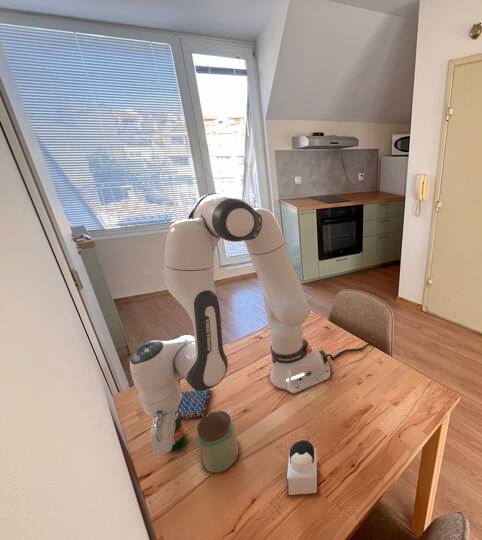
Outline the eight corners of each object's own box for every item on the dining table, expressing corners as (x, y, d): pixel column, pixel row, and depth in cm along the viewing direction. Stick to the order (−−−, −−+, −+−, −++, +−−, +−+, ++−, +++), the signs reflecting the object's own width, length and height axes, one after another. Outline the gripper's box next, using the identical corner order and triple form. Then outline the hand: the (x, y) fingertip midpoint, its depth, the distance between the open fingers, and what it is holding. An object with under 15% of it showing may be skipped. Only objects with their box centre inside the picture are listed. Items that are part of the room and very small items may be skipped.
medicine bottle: (290, 466, 80) (288, 437, 75) (316, 464, 80) (316, 435, 75) (288, 495, 73) (285, 465, 68) (316, 493, 74) (316, 463, 69)
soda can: (178, 454, 82) (168, 424, 77) (162, 450, 83) (152, 421, 78) (190, 437, 86) (182, 409, 81) (175, 434, 87) (166, 405, 82)
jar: (237, 436, 87) (231, 405, 82) (239, 465, 80) (232, 433, 74) (204, 446, 84) (196, 414, 79) (203, 477, 77) (193, 444, 71)
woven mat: (204, 417, 93) (203, 412, 92) (168, 421, 91) (167, 416, 90) (212, 391, 102) (211, 387, 101) (180, 394, 101) (179, 390, 100)
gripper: (169, 427, 69) (181, 464, 75) (179, 368, 87) (189, 402, 92) (138, 436, 67) (153, 473, 73) (155, 373, 84) (166, 407, 90)
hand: (173, 433), depth 83 cm, fingers closed on soda can, 5 cm apart
